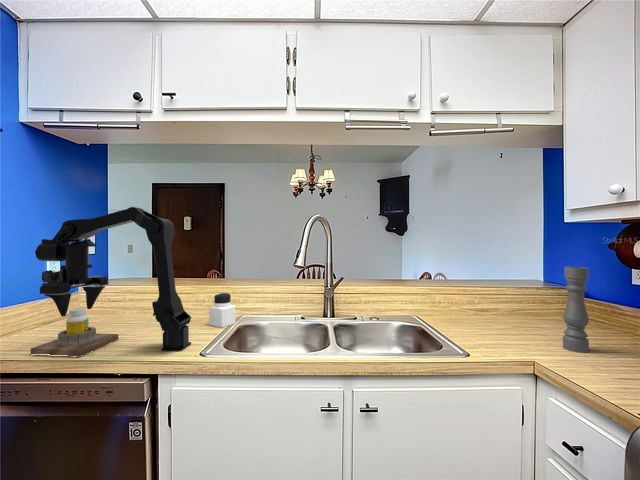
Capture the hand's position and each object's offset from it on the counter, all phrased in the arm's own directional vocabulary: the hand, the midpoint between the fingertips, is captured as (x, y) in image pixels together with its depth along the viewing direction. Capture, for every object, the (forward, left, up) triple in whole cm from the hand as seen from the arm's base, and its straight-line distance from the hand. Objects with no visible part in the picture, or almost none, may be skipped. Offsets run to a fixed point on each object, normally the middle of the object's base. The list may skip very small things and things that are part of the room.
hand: (76, 312), depth 96 cm
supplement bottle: (0, 0, -9) cm, 9 cm away
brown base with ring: (0, 0, -11) cm, 11 cm away
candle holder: (-152, -13, -11) cm, 153 cm away
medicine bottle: (-34, -29, -11) cm, 46 cm away
